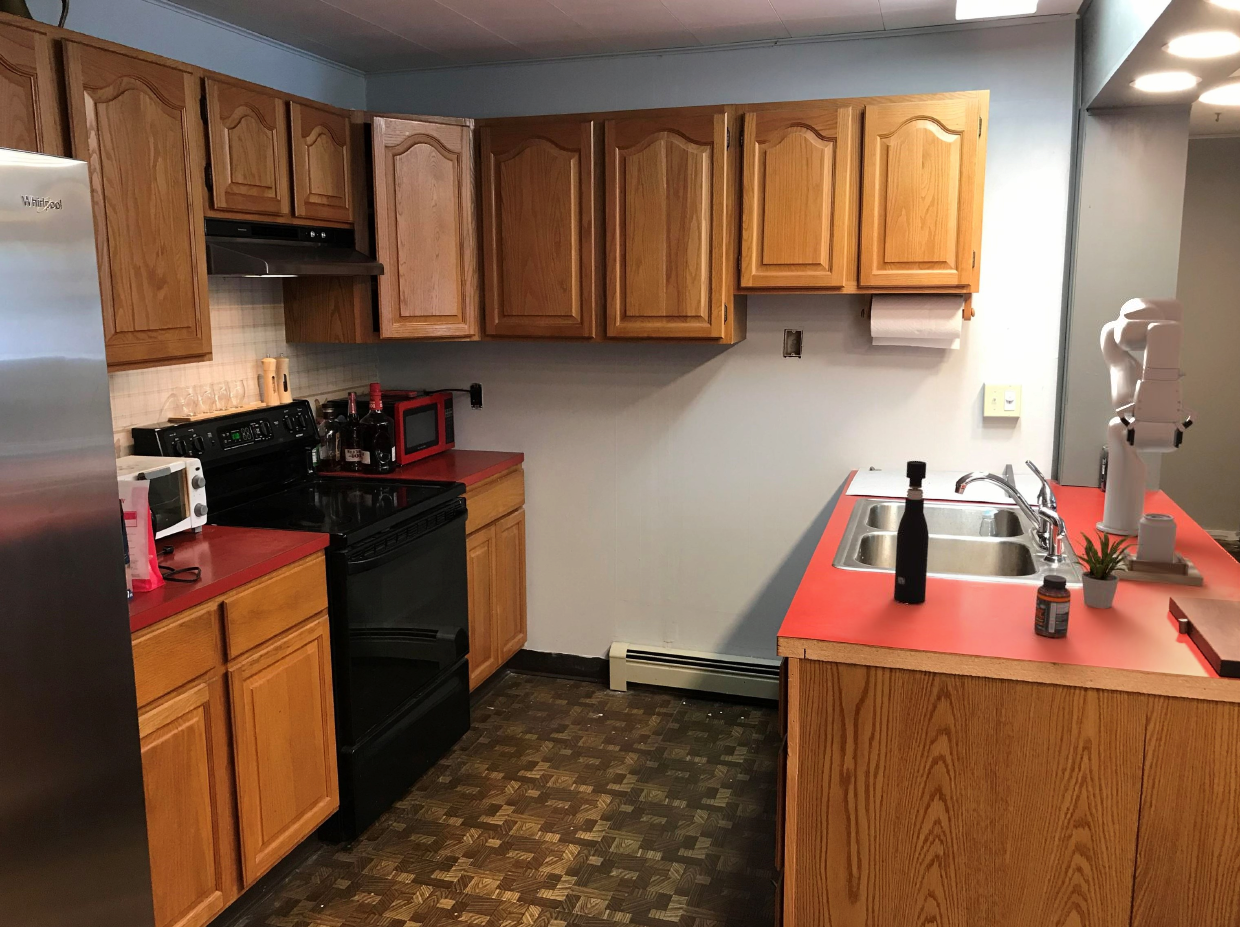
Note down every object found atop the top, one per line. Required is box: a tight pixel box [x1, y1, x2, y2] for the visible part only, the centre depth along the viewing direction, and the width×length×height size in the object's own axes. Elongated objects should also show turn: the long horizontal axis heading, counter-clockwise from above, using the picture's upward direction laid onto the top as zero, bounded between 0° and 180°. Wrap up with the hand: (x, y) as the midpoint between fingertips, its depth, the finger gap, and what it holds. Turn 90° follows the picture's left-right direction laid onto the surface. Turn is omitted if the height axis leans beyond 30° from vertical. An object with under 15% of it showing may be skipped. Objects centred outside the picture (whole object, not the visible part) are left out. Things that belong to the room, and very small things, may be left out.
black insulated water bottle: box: [893, 460, 929, 605], centre depth 205 cm, size 6×6×30 cm
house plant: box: [1068, 527, 1142, 609], centre depth 203 cm, size 14×14×16 cm
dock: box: [1108, 547, 1204, 587], centre depth 226 cm, size 16×18×4 cm
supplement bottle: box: [1033, 574, 1072, 639], centre depth 187 cm, size 6×6×11 cm
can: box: [1136, 512, 1177, 563], centre depth 224 cm, size 8×8×12 cm
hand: (1153, 445), depth 234 cm, fingers open, 9 cm apart
